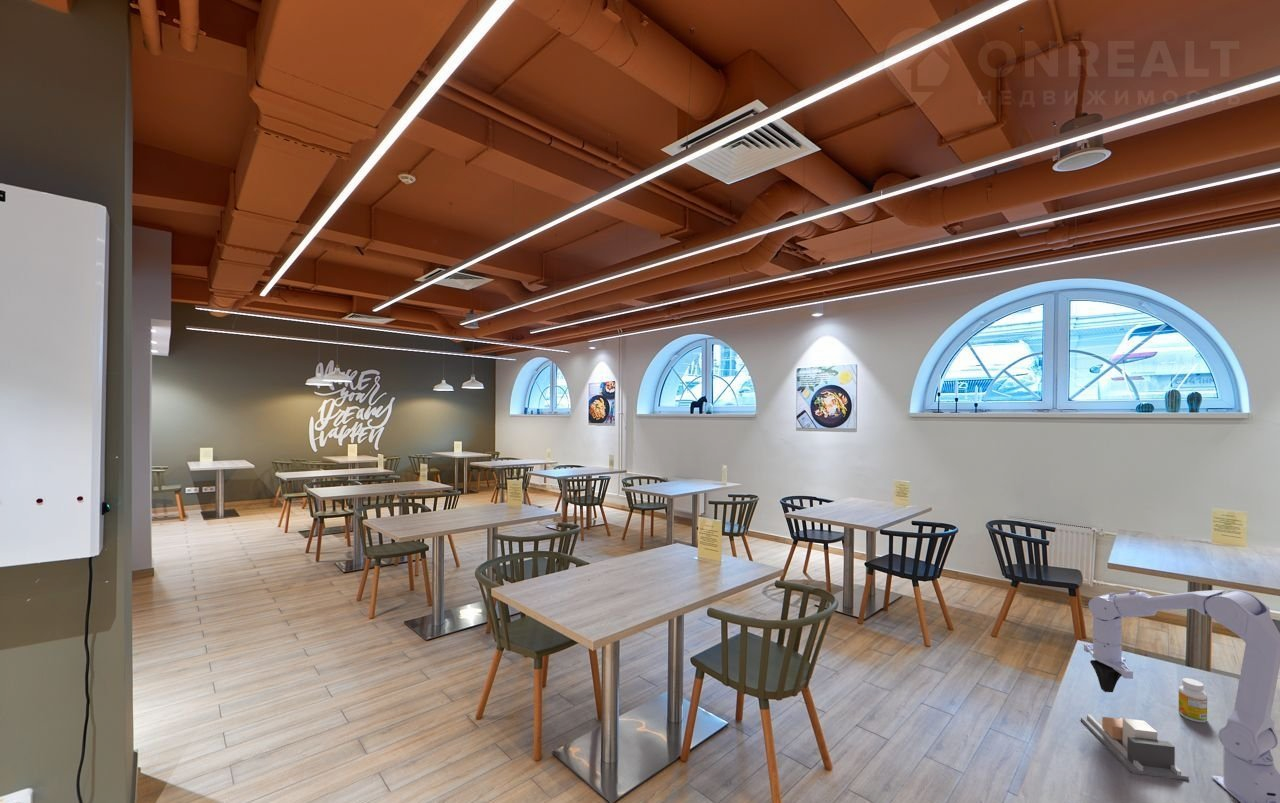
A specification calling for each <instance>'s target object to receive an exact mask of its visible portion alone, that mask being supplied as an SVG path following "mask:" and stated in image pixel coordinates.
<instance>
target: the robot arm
mask: <svg viewBox="0 0 1280 803" xmlns="http://www.w3.org/2000/svg"><path fill="white" fill-rule="evenodd" d="M1224 592H1226V590H1225V589H1224V590H1223V589H1222V590H1221V589H1215V590H1213V589H1212V590H1198V591H1197V590H1195V591H1188V592H1180V593H1179V592H1178V593H1171V594H1163V595H1156V596H1155V595H1154V596H1153V595H1151V594H1149V593H1147V592H1144V591H1138V589H1132V590H1128V592H1126V593H1119V594H1118V593H1116V592H1109V593H1107V594H1102V595H1099V596H1095V597H1093V598H1091V599H1090V600H1089V601H1088V605H1087V606H1088V610H1089V611H1090V613H1091V614H1092V643H1083V651H1084V652H1086V653H1089V654H1090V655H1091V657H1092V658H1093V659H1091V660H1090V661H1089V663H1090V664H1091V666H1092V667H1093V669H1094V672H1095V674H1096V676H1097V679H1098V682H1099V686H1100V689H1101V690H1102V691H1103V692H1104V693H1114V691H1115V687H1116V685H1117V684H1118V683H1117V682H1118V681H1119V680H1120V678H1121V677H1122V678H1123V679H1128V680H1130V679H1134V671H1133V670H1132V669H1131V668H1129V667H1128V665H1127V664H1126V661H1127V659H1126V658H1125V657H1123V655H1122V651H1123V650H1122V648H1123V644H1122V640H1123V638H1122V635H1123V634H1122V633H1123V632H1122V631H1123V630H1122V625H1123V621H1122V620H1123V619H1122V618H1138V617H1139V618H1140V617H1154V616H1155V615H1156V614H1157V612H1158V611H1162V610H1164V611H1165V610H1166V611H1167V610H1189V609H1191V610H1195V611H1197V612H1198V613H1200V614H1201V615H1203V616H1209V617H1210V618H1212V620H1214V621H1216V623H1218V624H1219V625H1221V626H1223V627H1225V628H1226V629H1227V630H1229V631H1231V632H1233V633H1234V634H1236V635H1237V636H1238V637H1239V638H1240V639H1241V640H1242V641H1244V643H1245V645H1244V654H1243V656H1242V657H1243V658H1242V664H1241V669H1240V675H1239V678H1238V679H1239V680H1238V684H1237V686H1238V687H1237V690H1236V691H1237V692H1236V697H1235V702H1234V708H1233V709H1232V711H1231V713H1230V714H1229V715H1228V718H1227V721H1226V725H1225V726H1223V727H1221V728H1220V729H1219V731H1218V735H1217V736H1218V739H1219V742H1220V743H1221V745H1222V746H1223V759H1222V760H1223V763H1222V764H1223V766H1222V767H1223V770H1222V771H1223V772H1222V776H1221V775H1220V776H1219V775H1211V778H1212V779H1213V780H1214V781H1215V782H1216V783H1218V784H1219V785H1220V786H1221V787H1222V788H1223V789H1225V790H1226V791H1227V792H1228V793H1229V794H1231V795H1232V796H1233V797H1234V798H1235V799H1236V800H1237V801H1238V802H1240V803H1280V772H1279V771H1278V770H1277V769H1276V766H1275V764H1274V757H1273V755H1272V753H1271V750H1273V749H1275V748H1277V746H1278V744H1279V739H1278V736H1277V733H1276V731H1275V721H1274V720H1273V719H1272V718H1271V716H1272V710H1273V705H1274V698H1275V694H1276V688H1277V683H1278V679H1279V672H1280V631H1279V630H1278V628H1277V626H1276V623H1275V622H1274V621H1273V618H1272V616H1271V611H1270V607H1269V606H1268V605H1266V603H1264V602H1263V601H1261V599H1259V598H1258V597H1257V596H1256V595H1254V593H1253V594H1252V593H1251V592H1248V591H1245V590H1242V589H1241V590H1240V589H1233V590H1229V591H1227V592H1226V593H1224Z"/></svg>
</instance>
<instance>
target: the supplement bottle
mask: <svg viewBox="0 0 1280 803" xmlns="http://www.w3.org/2000/svg"><path fill="white" fill-rule="evenodd" d="M1181 680H1182V685H1180V686H1179V687H1178V714H1179V715H1180V716H1182V717H1183V718H1185V719H1187V720H1190V721H1192V722H1196V723H1206V722H1208V694H1207V693H1206V692H1205V691H1204V688H1205V687H1204V686H1205V685H1204V683H1202V682H1201V681H1199V680H1196V679H1194V678H1187V677H1186V678H1182V679H1181Z"/></svg>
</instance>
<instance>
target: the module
mask: <svg viewBox="0 0 1280 803" xmlns="http://www.w3.org/2000/svg"><path fill="white" fill-rule="evenodd" d="M1128 737H1134V738H1143V739H1152V740H1158V731H1157V730H1156V729H1154V728H1153V727H1152V726H1151V725H1150V724H1149V723H1147V722H1146V720H1142V719H1141V720H1140V719H1130V718H1124V717H1123V745H1122V746H1123V747H1124V748H1125V749H1126V750H1127V740H1128Z"/></svg>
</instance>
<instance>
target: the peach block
mask: <svg viewBox="0 0 1280 803" xmlns="http://www.w3.org/2000/svg"><path fill="white" fill-rule="evenodd" d="M1101 718H1102V719H1101V720H1102V728H1103V729H1104V730H1105V731H1106V732H1107V733H1108V734H1109V735H1110V736H1111V737H1112V738H1115V739H1123V719H1119V718H1115V717H1107V716H1102V717H1101Z"/></svg>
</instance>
